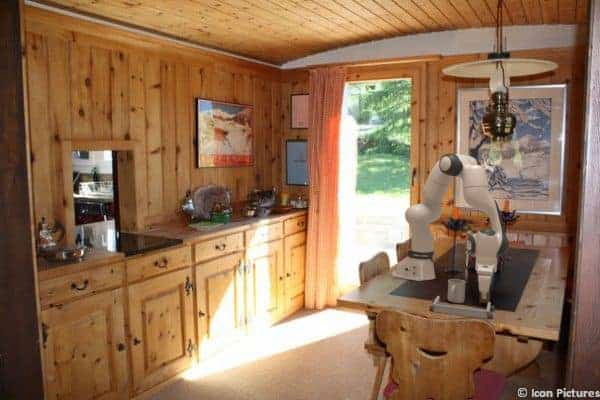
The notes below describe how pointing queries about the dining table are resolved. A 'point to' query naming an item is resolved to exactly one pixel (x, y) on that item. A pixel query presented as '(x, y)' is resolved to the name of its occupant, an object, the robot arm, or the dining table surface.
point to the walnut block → (484, 299)
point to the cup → (456, 290)
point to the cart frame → (461, 310)
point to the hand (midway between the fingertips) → (484, 296)
